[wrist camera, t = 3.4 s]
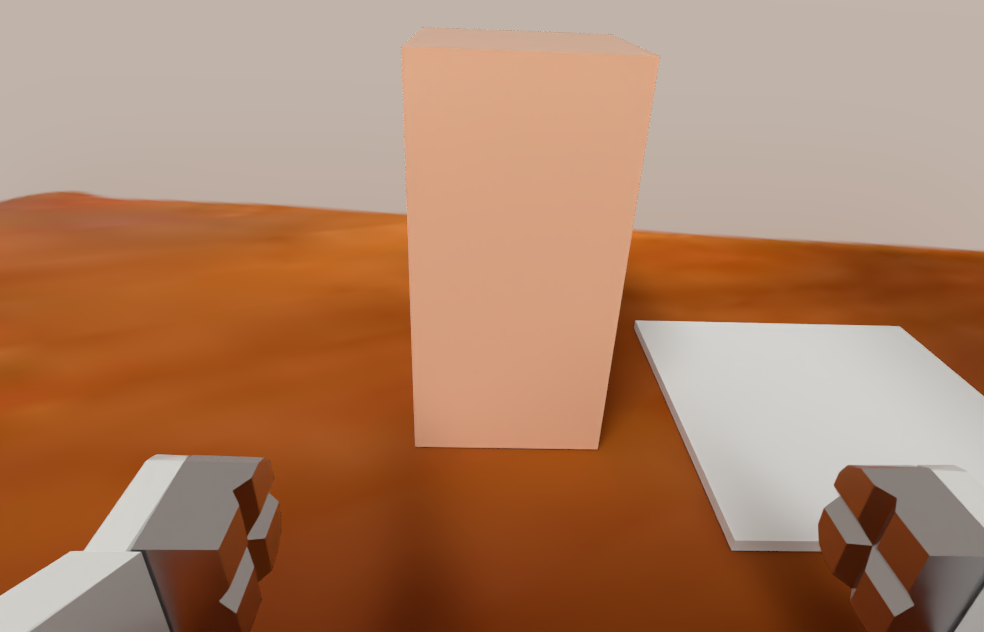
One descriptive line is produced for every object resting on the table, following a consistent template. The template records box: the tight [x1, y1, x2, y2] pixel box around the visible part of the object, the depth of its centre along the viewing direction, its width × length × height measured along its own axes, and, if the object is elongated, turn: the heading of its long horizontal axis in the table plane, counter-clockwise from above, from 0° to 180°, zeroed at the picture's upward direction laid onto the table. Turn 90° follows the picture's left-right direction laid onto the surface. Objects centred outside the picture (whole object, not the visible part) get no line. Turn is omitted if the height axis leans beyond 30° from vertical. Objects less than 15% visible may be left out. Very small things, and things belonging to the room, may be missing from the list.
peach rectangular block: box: [401, 27, 660, 449], centre depth 20 cm, size 6×6×12 cm
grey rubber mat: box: [634, 320, 984, 551], centre depth 22 cm, size 12×12×1 cm
